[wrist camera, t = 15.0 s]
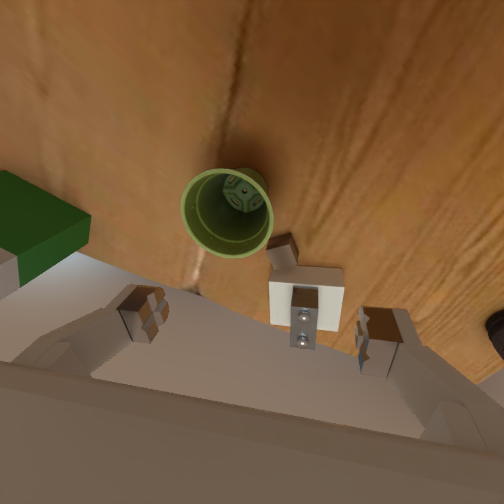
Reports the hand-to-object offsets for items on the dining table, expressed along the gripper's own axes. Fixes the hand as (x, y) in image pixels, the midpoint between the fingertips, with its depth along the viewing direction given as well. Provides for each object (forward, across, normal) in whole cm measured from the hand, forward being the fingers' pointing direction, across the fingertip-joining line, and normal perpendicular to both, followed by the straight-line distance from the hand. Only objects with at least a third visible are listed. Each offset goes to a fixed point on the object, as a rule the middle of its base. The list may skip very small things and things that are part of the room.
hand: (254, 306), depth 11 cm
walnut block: (+31, +2, +15) cm, 35 cm away
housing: (+26, -2, +24) cm, 35 cm away
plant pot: (+31, +8, +5) cm, 33 cm away
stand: (+31, -2, +24) cm, 39 cm away
